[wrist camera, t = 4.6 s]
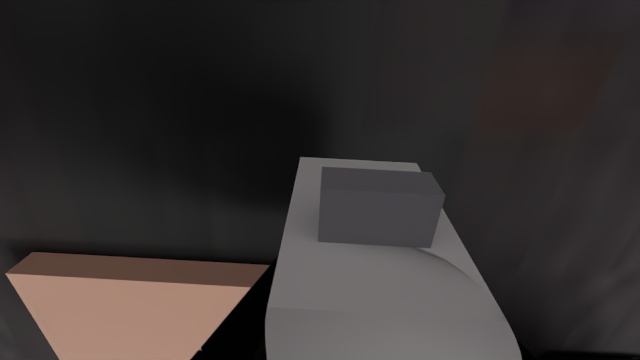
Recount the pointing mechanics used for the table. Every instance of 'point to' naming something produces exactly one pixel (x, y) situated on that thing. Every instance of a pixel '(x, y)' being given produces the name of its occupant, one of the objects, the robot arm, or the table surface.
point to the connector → (377, 272)
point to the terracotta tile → (128, 303)
